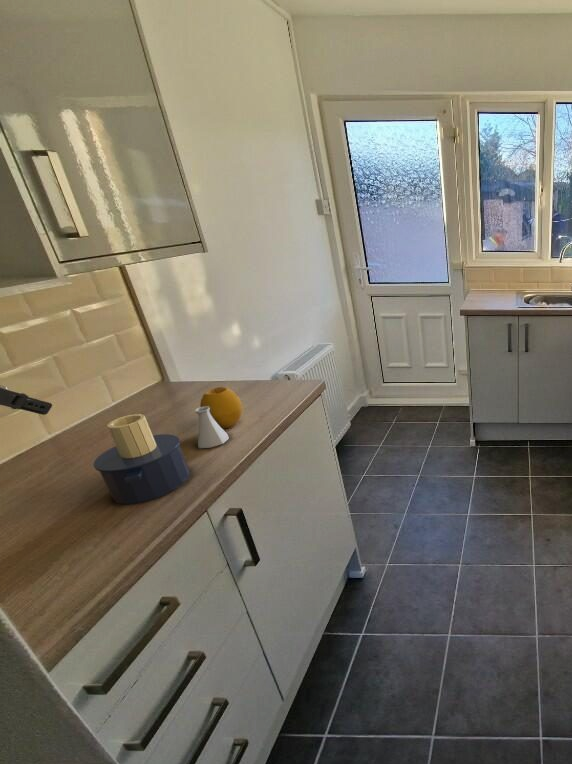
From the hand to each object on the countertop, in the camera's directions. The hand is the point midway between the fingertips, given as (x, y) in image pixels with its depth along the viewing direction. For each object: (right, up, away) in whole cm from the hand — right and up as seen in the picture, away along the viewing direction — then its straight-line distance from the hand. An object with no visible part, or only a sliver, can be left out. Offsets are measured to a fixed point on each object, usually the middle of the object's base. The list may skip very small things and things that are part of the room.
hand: (34, 406), depth 74 cm
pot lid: (+4, -11, +17) cm, 20 cm away
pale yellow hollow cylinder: (+4, -11, +16) cm, 20 cm away
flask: (+6, -12, +37) cm, 39 cm away
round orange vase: (+4, -8, +46) cm, 46 cm away
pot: (+4, -19, +20) cm, 28 cm away
